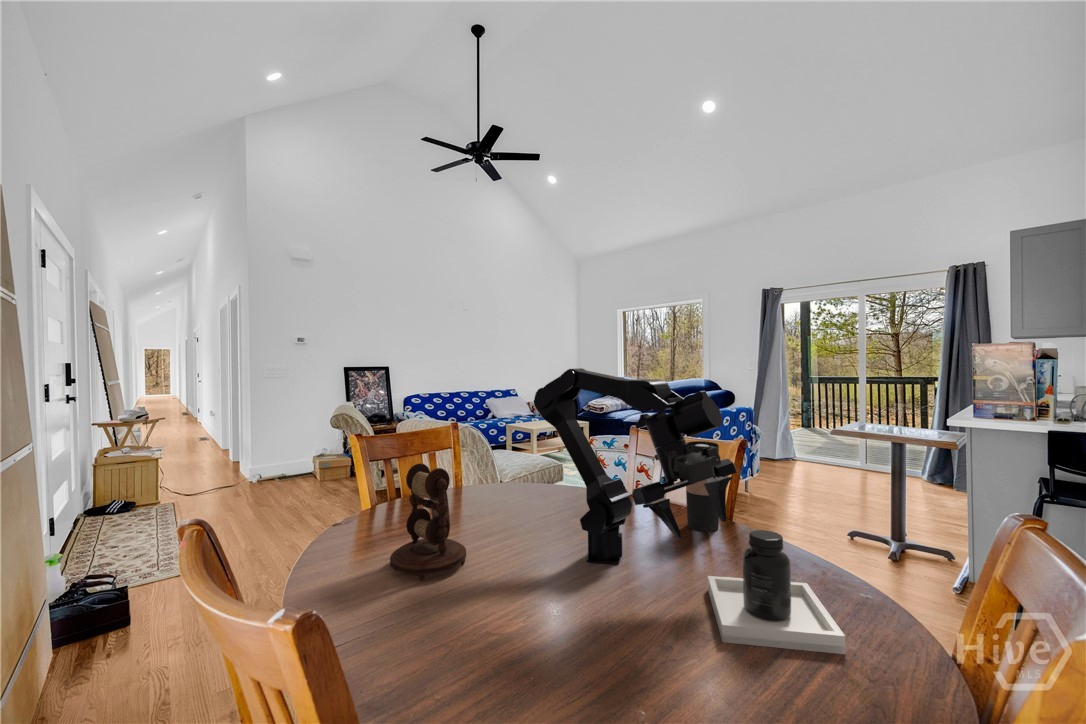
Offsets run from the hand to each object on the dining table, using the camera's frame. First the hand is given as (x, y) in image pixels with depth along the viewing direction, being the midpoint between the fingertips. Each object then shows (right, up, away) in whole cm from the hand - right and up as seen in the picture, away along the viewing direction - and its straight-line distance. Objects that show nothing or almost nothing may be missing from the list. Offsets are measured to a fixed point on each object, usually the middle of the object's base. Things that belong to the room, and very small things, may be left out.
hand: (702, 529), depth 86 cm
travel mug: (+11, -10, +32) cm, 35 cm away
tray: (+7, -11, -9) cm, 16 cm away
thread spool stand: (-51, -11, +12) cm, 53 cm away
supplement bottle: (+7, -10, -9) cm, 15 cm away
